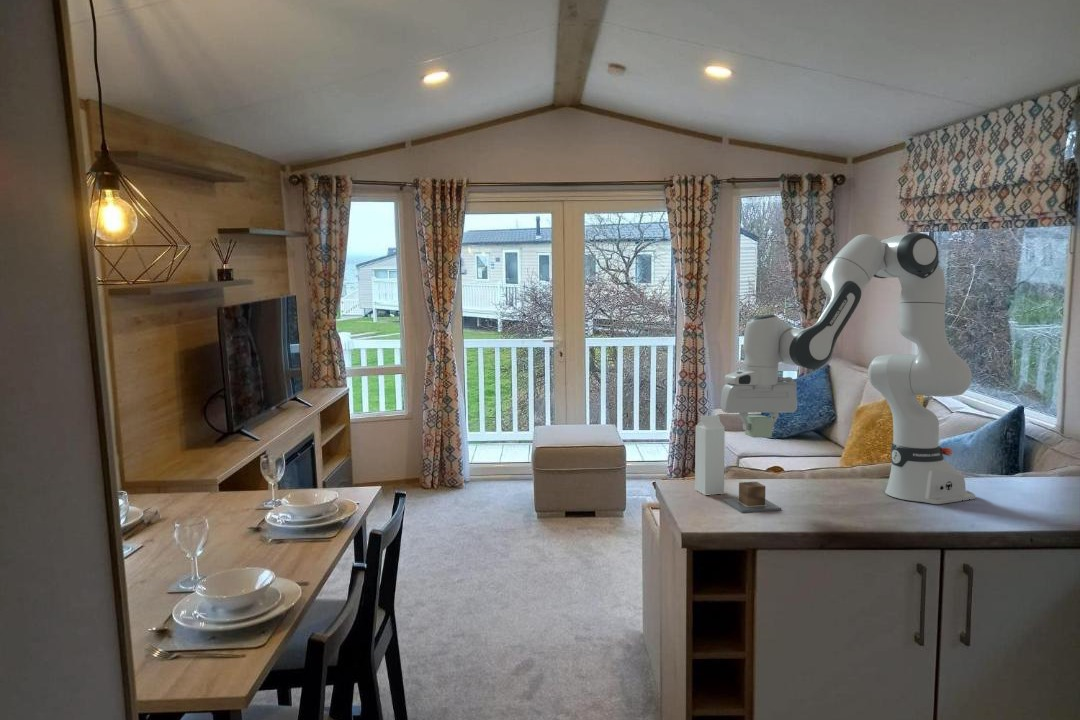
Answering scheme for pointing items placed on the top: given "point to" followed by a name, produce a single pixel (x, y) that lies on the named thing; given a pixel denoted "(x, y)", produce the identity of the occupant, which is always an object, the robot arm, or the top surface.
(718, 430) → the milk
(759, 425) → the green block
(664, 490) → the top surface
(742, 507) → the coaster
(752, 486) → the walnut block
